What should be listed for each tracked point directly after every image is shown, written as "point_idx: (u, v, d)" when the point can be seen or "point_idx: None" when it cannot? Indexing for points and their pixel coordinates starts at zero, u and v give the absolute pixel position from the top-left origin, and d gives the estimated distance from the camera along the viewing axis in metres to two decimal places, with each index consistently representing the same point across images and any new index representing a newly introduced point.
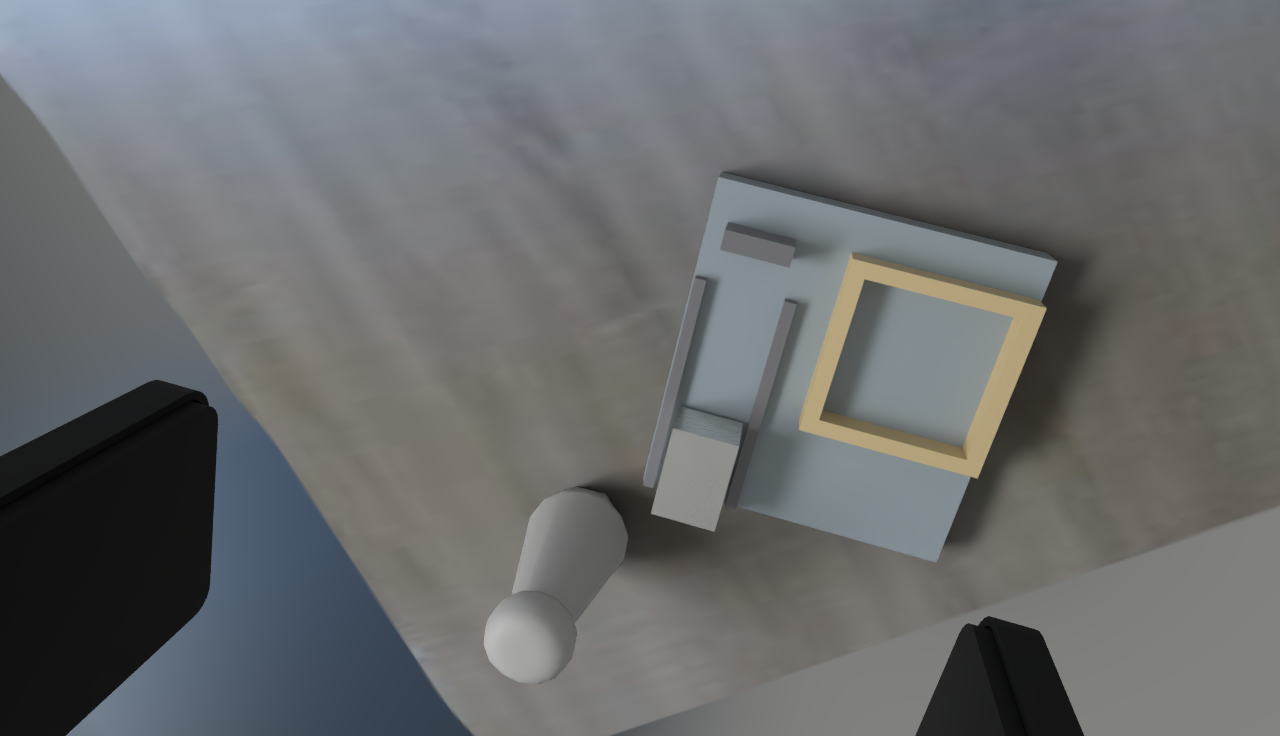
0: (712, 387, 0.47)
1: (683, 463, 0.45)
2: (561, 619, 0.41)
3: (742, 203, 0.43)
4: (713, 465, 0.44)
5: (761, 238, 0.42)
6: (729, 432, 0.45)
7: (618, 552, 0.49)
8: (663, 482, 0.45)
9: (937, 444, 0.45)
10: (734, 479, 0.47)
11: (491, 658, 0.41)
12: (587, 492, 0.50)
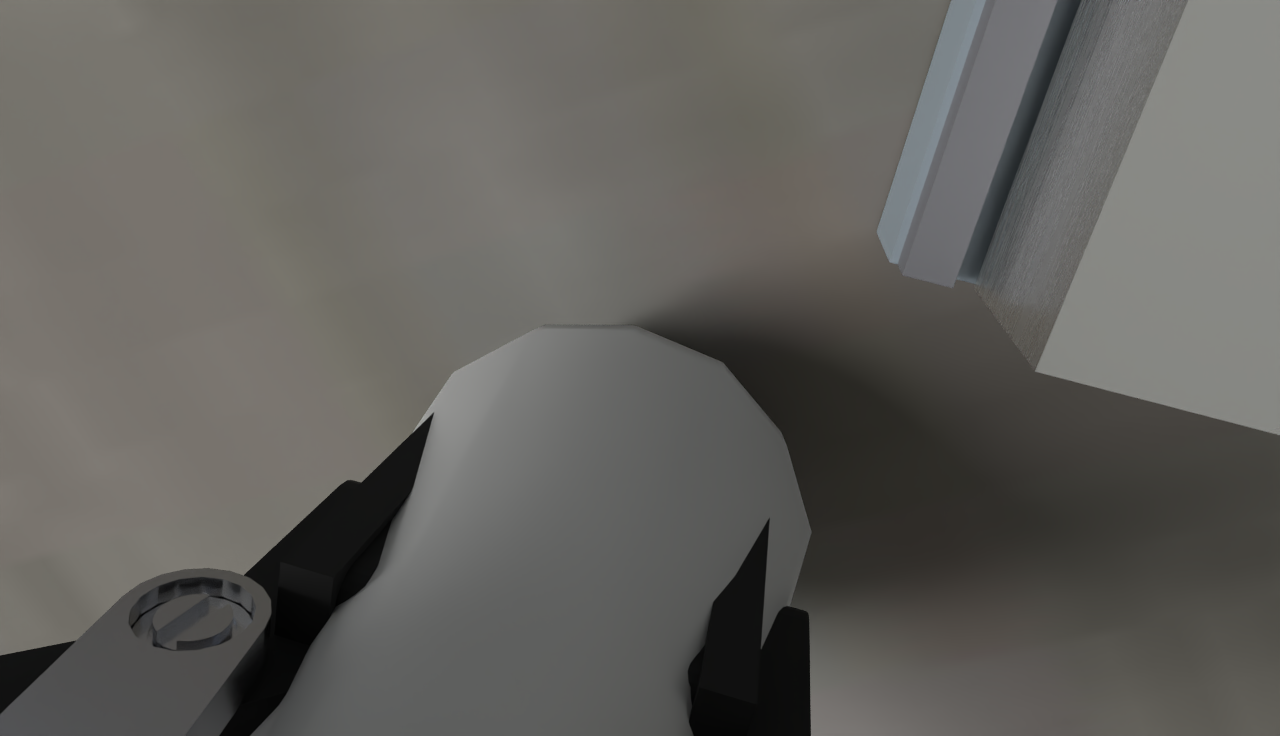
0: None
1: None
2: None
3: None
4: None
5: None
6: None
7: (789, 587, 0.11)
8: (1157, 159, 0.07)
9: None
10: None
11: None
12: (641, 330, 0.12)
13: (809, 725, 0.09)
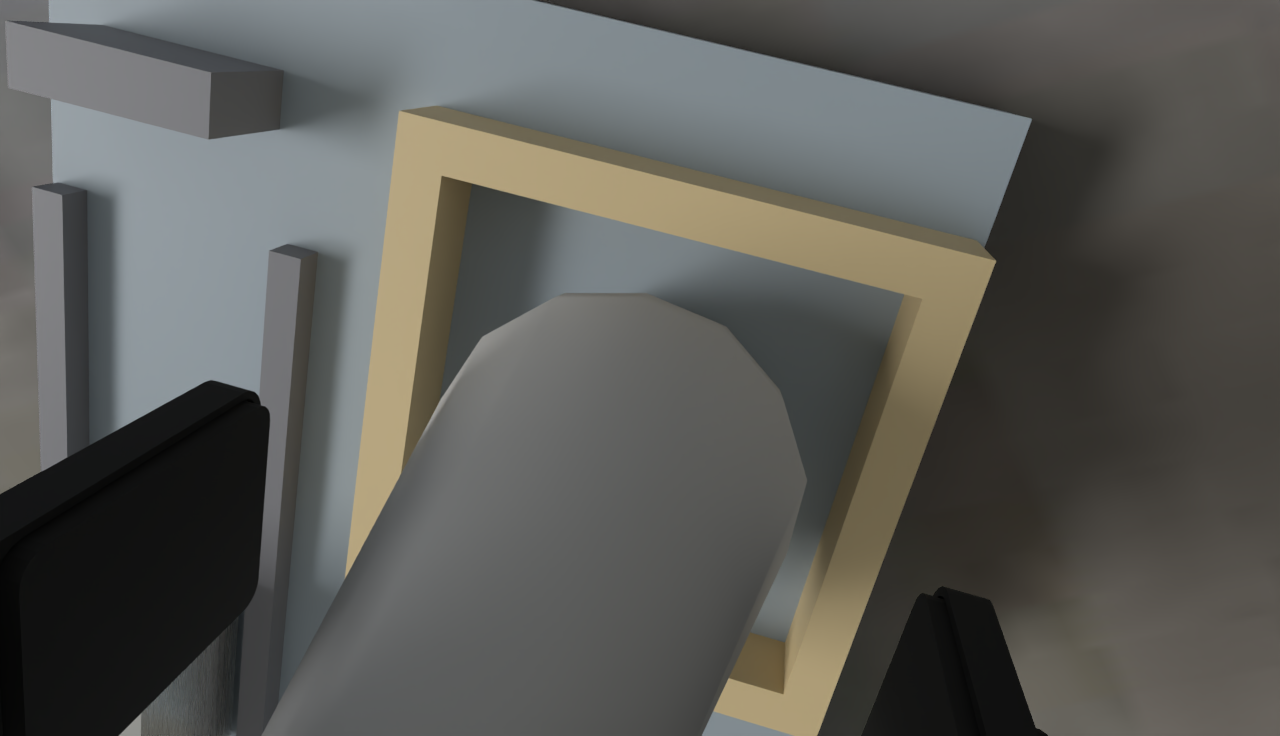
0: None
1: None
2: None
3: None
4: None
5: (115, 47, 0.13)
6: None
7: (784, 526, 0.12)
8: None
9: None
10: (242, 699, 0.19)
11: None
12: (651, 297, 0.13)
13: None
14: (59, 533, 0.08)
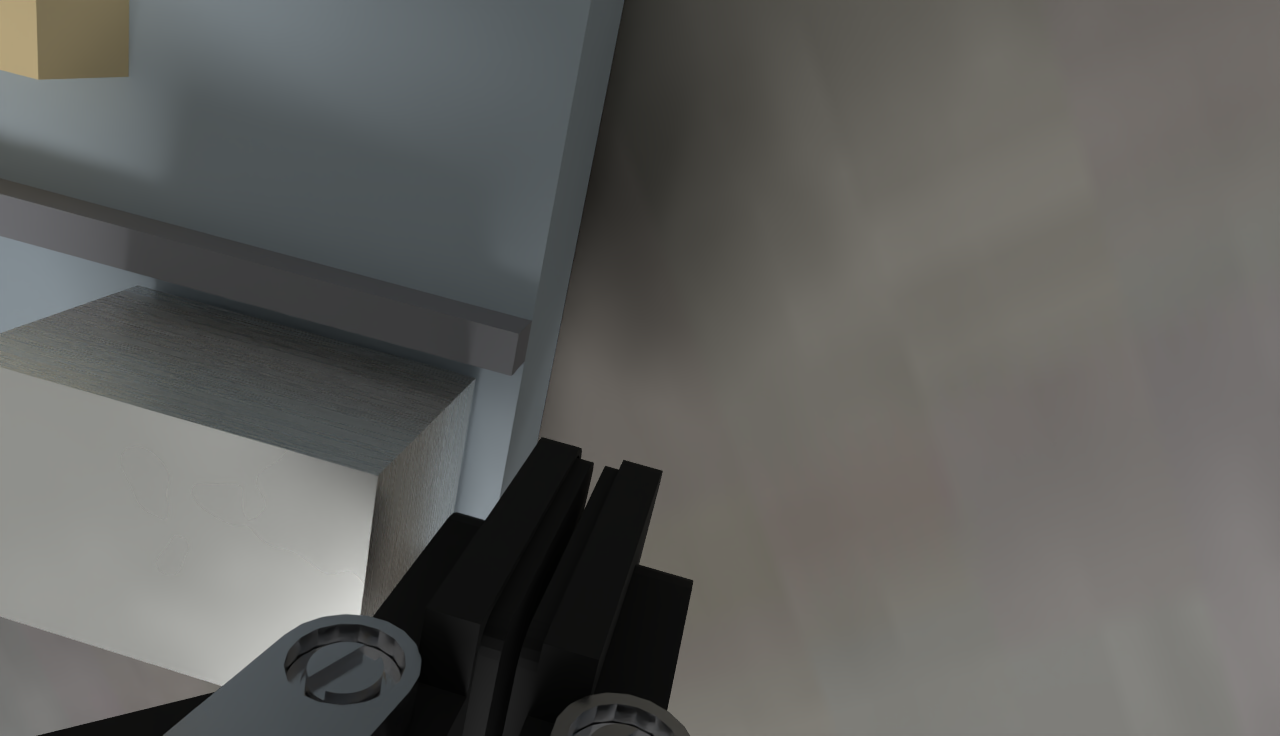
0: None
1: (94, 579, 0.10)
2: None
3: None
4: (63, 463, 0.10)
5: None
6: None
7: None
8: (194, 661, 0.11)
9: None
10: (380, 333, 0.12)
11: None
12: None
13: (670, 686, 0.09)
14: (514, 601, 0.08)
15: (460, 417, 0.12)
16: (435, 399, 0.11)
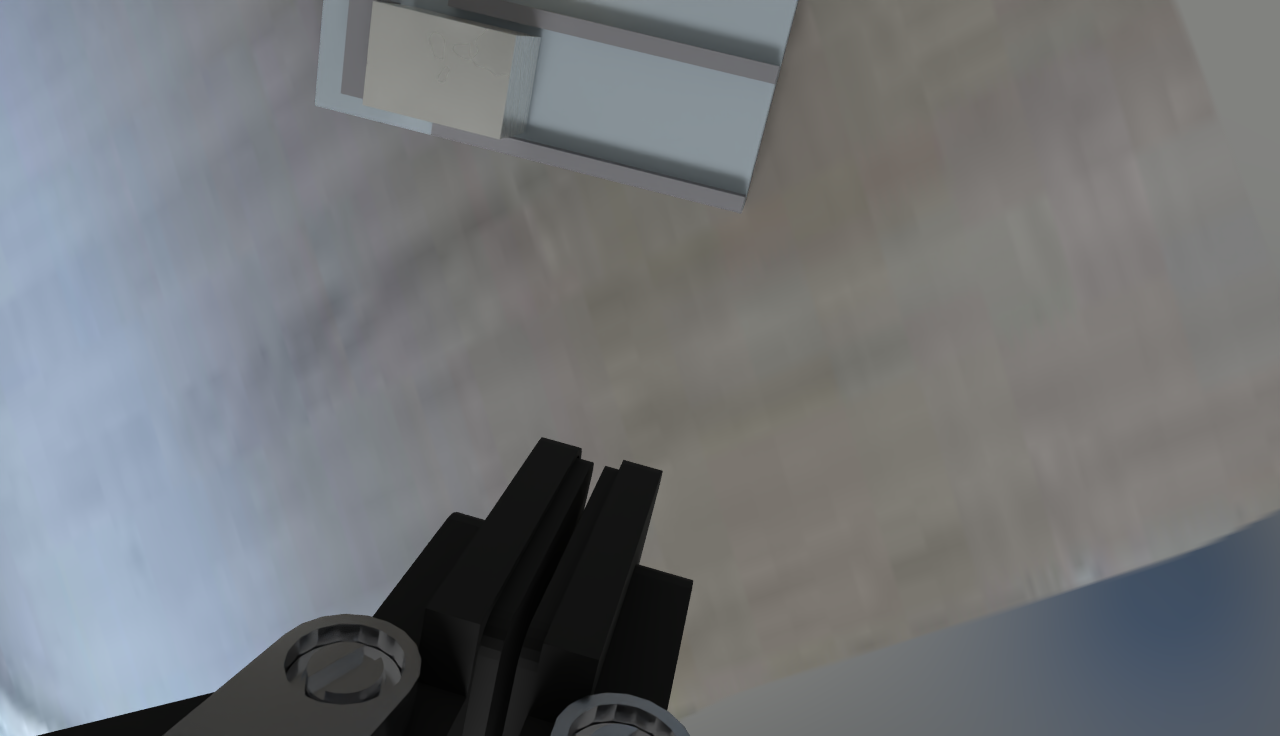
0: (588, 108, 0.33)
1: (413, 87, 0.30)
2: None
3: (341, 72, 0.34)
4: (408, 41, 0.30)
5: (346, 42, 0.31)
6: None
7: None
8: (446, 118, 0.30)
9: None
10: (724, 69, 0.31)
11: None
12: None
13: (670, 686, 0.09)
14: (514, 601, 0.08)
15: (535, 49, 0.32)
16: (528, 35, 0.31)
